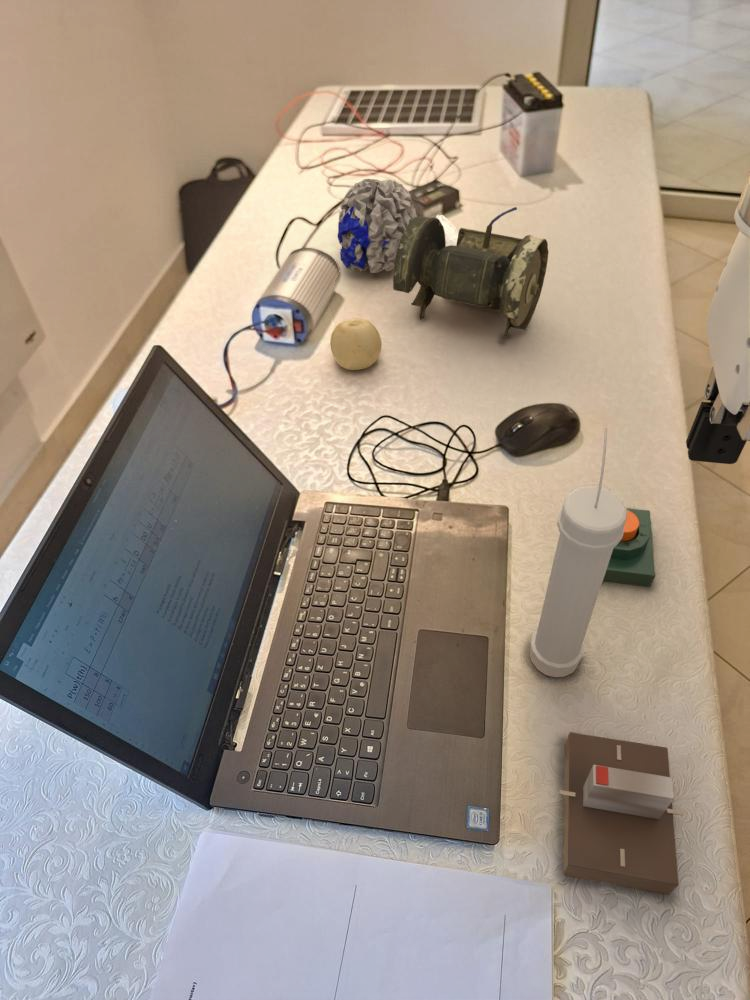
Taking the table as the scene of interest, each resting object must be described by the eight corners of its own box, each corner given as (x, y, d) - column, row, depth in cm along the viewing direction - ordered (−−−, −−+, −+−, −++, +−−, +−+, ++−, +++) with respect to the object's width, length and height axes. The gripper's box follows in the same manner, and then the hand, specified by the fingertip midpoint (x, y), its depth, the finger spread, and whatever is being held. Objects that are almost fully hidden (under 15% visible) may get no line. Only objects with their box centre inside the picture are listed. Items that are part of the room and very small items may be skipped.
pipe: (527, 677, 77) (574, 480, 54) (527, 626, 81) (570, 424, 59) (581, 682, 76) (650, 485, 54) (578, 631, 80) (641, 429, 58)
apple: (346, 383, 110) (323, 338, 107) (342, 371, 118) (320, 329, 115) (392, 359, 110) (370, 313, 107) (385, 349, 117) (364, 306, 114)
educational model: (339, 296, 138) (321, 248, 124) (356, 207, 143) (340, 151, 129) (411, 300, 135) (401, 250, 121) (425, 209, 140) (417, 152, 126)
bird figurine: (422, 251, 139) (444, 263, 131) (426, 213, 136) (448, 223, 128) (446, 250, 141) (469, 262, 133) (449, 213, 137) (473, 223, 129)
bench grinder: (509, 358, 108) (550, 217, 100) (377, 317, 115) (405, 182, 106) (538, 341, 125) (575, 220, 117) (422, 307, 132) (449, 190, 124)
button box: (650, 587, 84) (659, 566, 81) (579, 578, 85) (585, 557, 82) (645, 522, 90) (653, 500, 87) (579, 514, 91) (585, 493, 89)
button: (636, 543, 83) (640, 534, 82) (604, 540, 84) (607, 530, 83) (635, 520, 86) (638, 510, 85) (603, 516, 86) (606, 507, 85)
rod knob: (657, 799, 65) (673, 776, 61) (659, 819, 64) (675, 797, 60) (583, 786, 66) (593, 763, 62) (583, 806, 65) (593, 784, 61)
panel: (679, 897, 62) (690, 887, 60) (552, 873, 64) (557, 862, 61) (668, 761, 70) (677, 748, 68) (555, 743, 72) (560, 729, 69)
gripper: (952, 283, 32) (788, 543, 45) (860, 142, 42) (748, 390, 55) (770, 272, 33) (663, 530, 47) (723, 137, 43) (646, 382, 56)
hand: (709, 454), depth 51 cm, fingers closed
